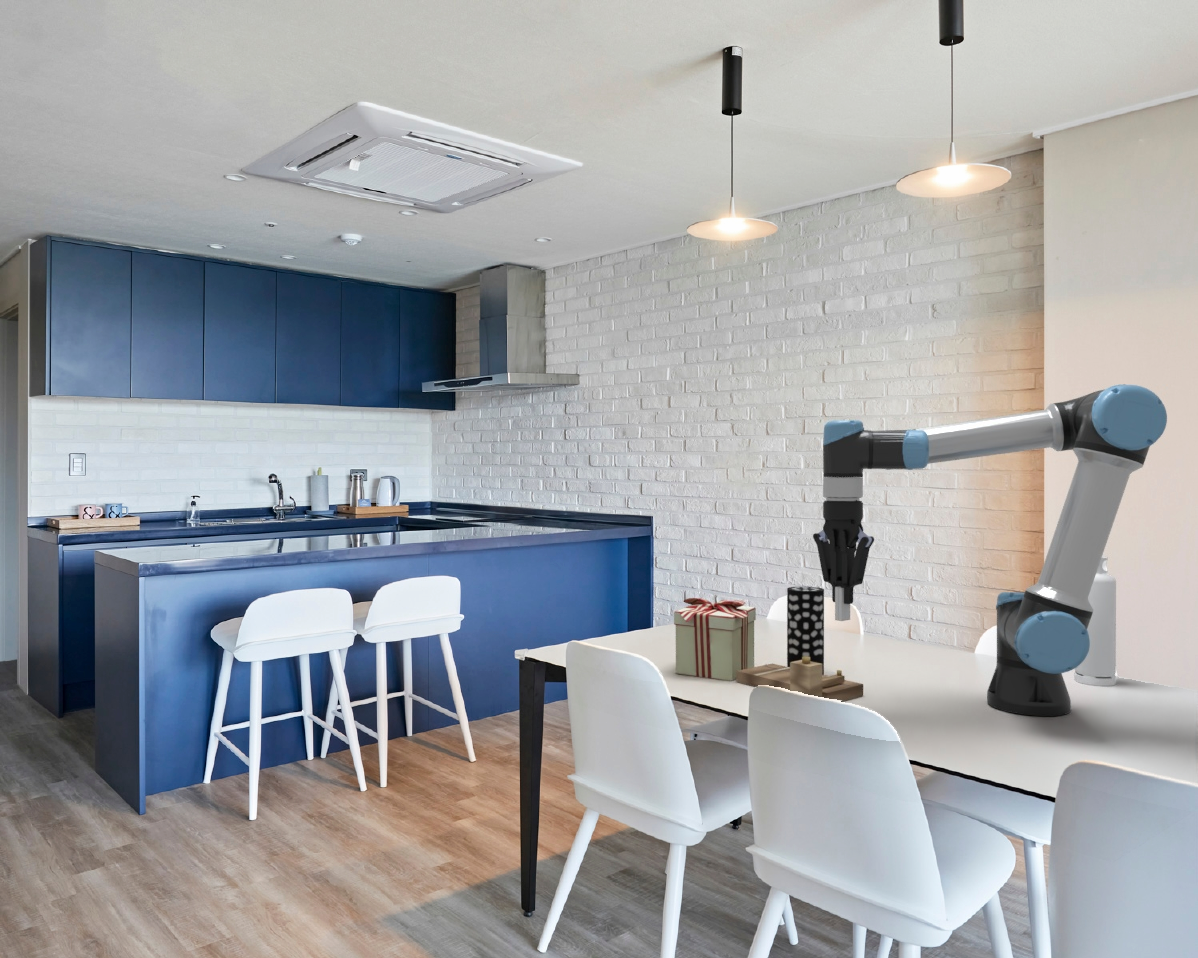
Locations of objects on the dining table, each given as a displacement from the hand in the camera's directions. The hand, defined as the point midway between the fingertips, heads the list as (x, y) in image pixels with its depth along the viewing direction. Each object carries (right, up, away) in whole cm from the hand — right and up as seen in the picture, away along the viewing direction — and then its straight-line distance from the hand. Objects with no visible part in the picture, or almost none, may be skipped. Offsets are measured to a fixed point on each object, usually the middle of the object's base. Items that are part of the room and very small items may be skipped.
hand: (842, 619), depth 174 cm
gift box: (-20, -18, +35) cm, 44 cm away
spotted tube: (0, -18, +33) cm, 37 cm away
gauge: (-2, -18, +10) cm, 21 cm away
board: (-4, -18, +20) cm, 27 cm away
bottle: (+63, -18, +25) cm, 71 cm away
